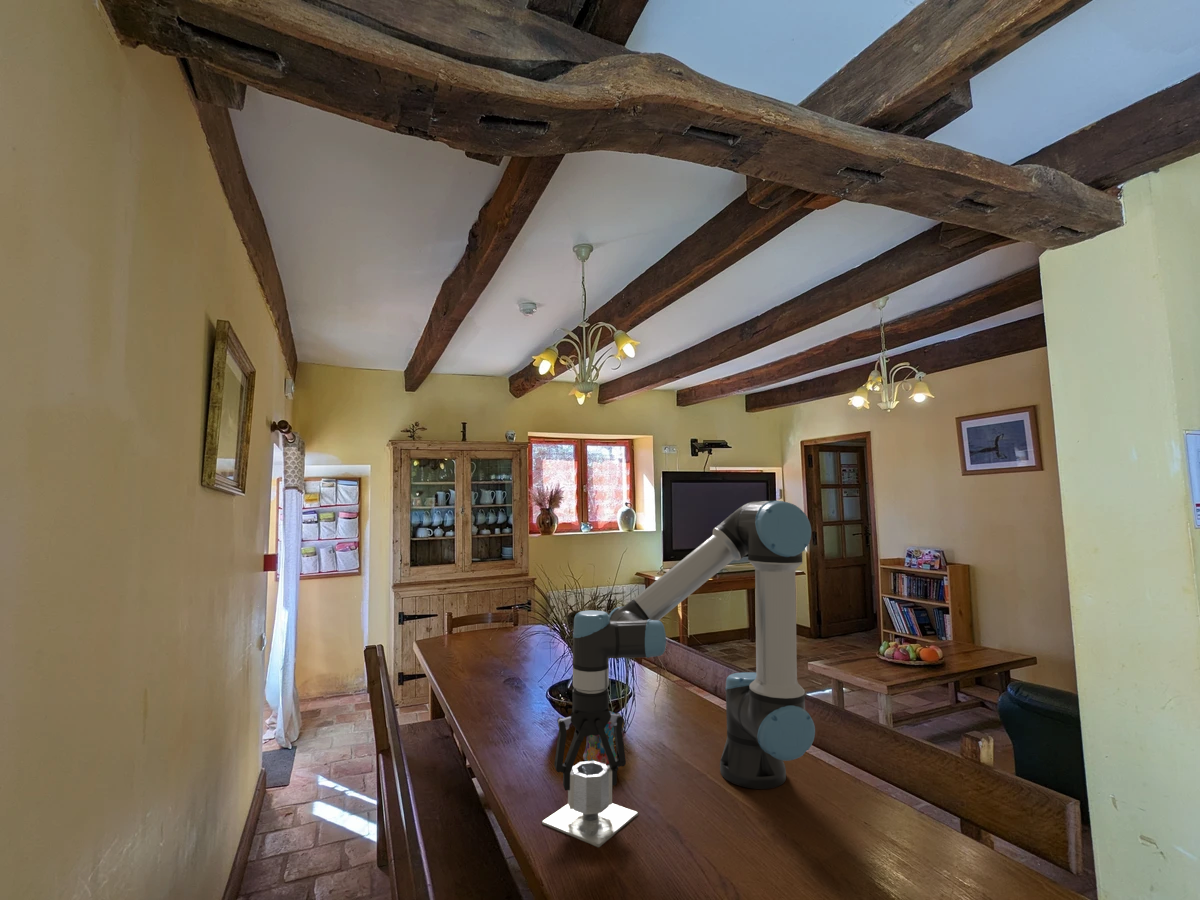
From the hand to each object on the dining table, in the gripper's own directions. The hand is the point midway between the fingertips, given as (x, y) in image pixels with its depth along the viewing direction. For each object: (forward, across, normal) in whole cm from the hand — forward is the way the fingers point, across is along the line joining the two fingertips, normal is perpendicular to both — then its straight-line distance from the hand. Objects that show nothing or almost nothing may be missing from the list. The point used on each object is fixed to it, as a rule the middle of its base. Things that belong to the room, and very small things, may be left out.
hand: (589, 803), depth 119 cm
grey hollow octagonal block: (0, 0, 0) cm, 0 cm away
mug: (+3, -9, -27) cm, 28 cm away
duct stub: (+3, 0, 0) cm, 3 cm away
